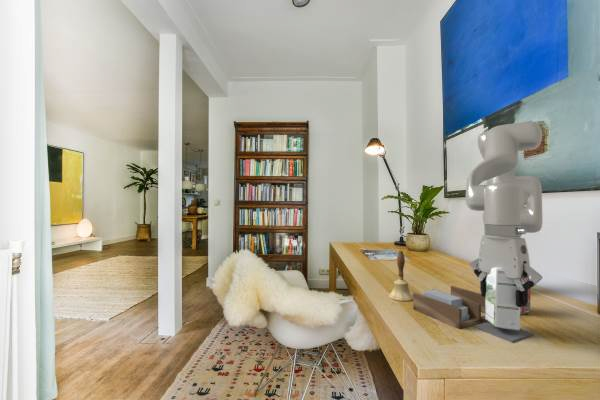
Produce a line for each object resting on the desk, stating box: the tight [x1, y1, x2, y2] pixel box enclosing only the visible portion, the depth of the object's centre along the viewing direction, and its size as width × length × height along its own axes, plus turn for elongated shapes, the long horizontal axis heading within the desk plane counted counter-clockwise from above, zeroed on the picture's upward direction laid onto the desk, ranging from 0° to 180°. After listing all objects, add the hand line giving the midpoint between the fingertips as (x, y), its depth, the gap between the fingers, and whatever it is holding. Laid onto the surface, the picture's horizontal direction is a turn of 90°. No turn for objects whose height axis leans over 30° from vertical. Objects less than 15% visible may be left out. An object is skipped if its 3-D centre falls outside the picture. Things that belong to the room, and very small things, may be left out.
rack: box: [412, 285, 488, 330], centre depth 83 cm, size 18×15×5 cm
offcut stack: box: [423, 289, 469, 322], centre depth 82 cm, size 5×12×6 cm, turn 26°
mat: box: [473, 321, 535, 343], centre depth 71 cm, size 9×9×1 cm
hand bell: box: [388, 250, 413, 302], centre depth 97 cm, size 8×8×16 cm
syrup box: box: [484, 268, 521, 330], centre depth 71 cm, size 6×6×14 cm
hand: (502, 300), depth 72 cm, fingers closed on syrup box, 7 cm apart
